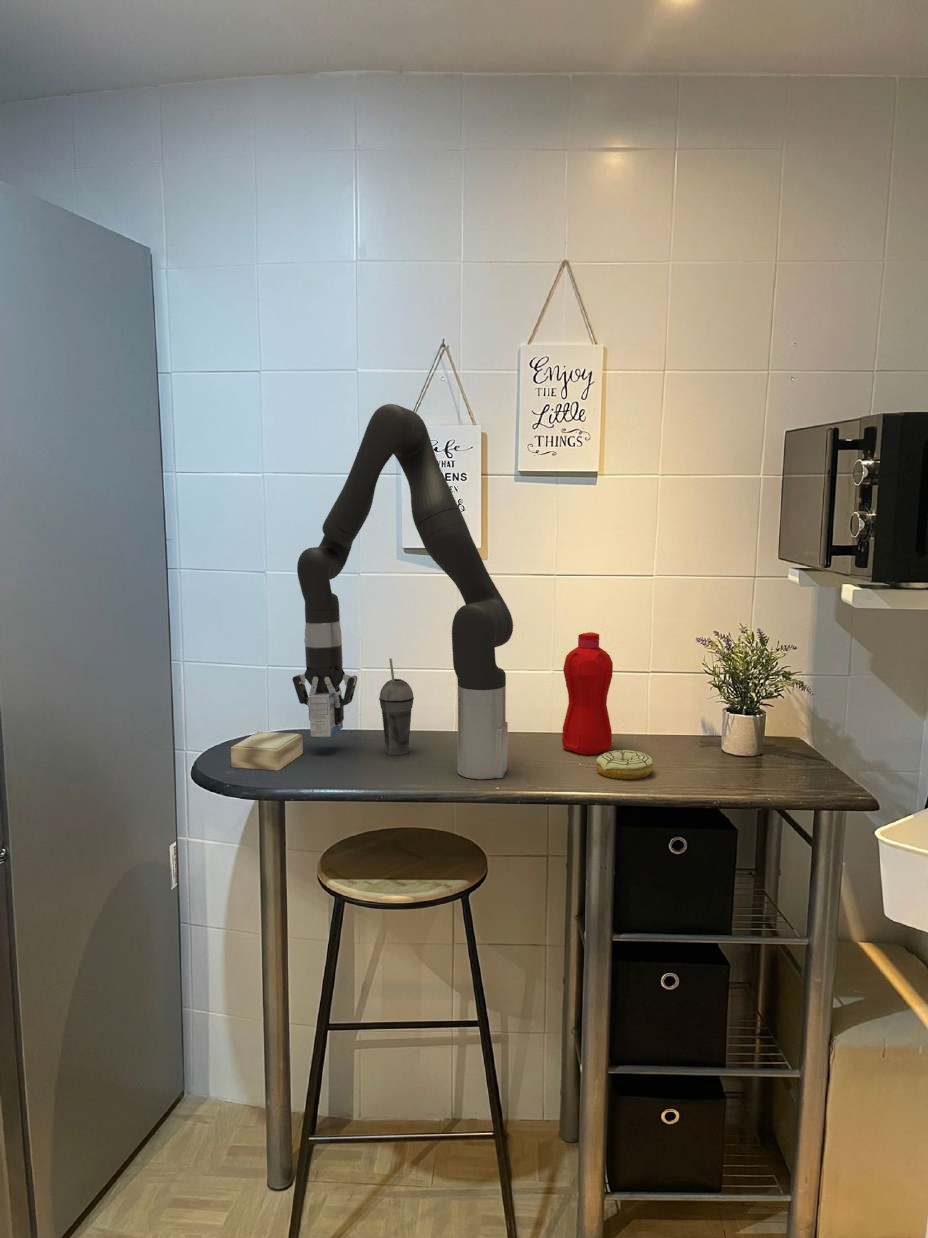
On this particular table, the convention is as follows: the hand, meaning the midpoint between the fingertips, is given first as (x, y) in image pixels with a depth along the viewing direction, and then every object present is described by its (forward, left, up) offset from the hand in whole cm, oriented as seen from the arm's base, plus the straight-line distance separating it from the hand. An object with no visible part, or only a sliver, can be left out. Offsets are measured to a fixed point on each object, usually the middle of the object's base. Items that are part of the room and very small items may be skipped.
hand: (326, 723), depth 183 cm
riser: (+9, +9, -6) cm, 14 cm away
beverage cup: (-15, -2, -6) cm, 16 cm away
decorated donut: (-62, +2, -6) cm, 62 cm away
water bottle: (-53, -13, -6) cm, 55 cm away
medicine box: (0, 0, -2) cm, 2 cm away
